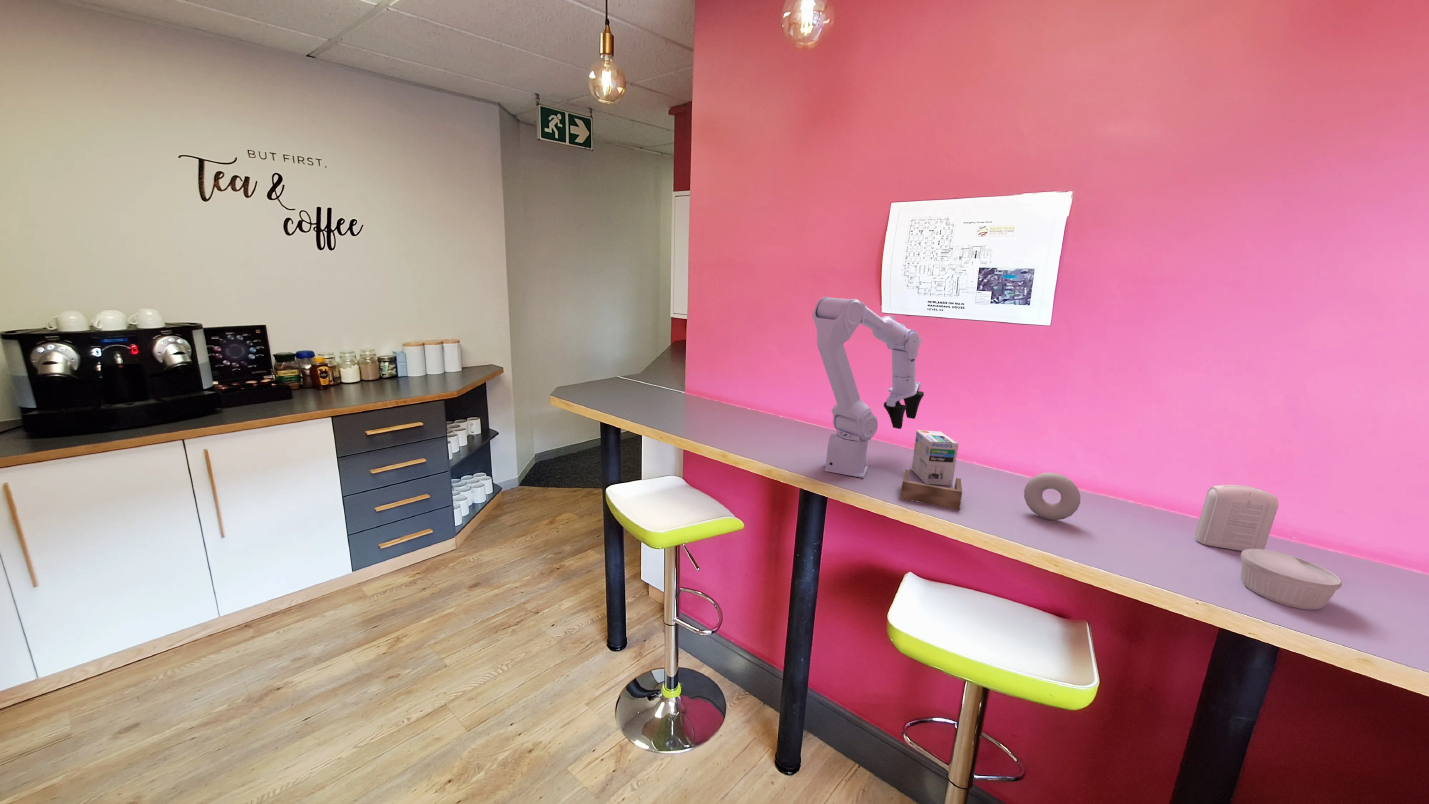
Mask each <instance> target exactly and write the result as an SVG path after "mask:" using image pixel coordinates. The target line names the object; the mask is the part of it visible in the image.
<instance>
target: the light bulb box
mask: <svg viewBox="0 0 1429 804" xmlns="http://www.w3.org/2000/svg"><path fill="white" fill-rule="evenodd" d="M915 432H916V433H915V439H914V448H913V456H912V462H911V470H910V471H912V472H914V474H915V475H916V476H917V477H918V479H920V480H921V481H922V482H923V484H928V485H934V486H938V485H939V486H940V485H941V486H953V482H954V477H955V470H956V463H957V462H956V461H957V458H958V457H957V456H958V450H959V445H960V444H959V442H957V441H955V440H954V439H952V438H951V437H949V436H948V435H947V434H945V433H944V432H942V431H940V430H939V431H937V430H935V431H933V430H922V429H916V430H915Z"/></svg>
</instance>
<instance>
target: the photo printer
mask: <svg viewBox="0 0 1429 804" xmlns="http://www.w3.org/2000/svg"><path fill="white" fill-rule="evenodd" d="M1278 508H1279V499H1278V497H1277V496H1276V495H1273V494H1272V493H1271V492H1268V491H1265V490H1263V489H1260V488H1256V487H1253V486H1247V485H1239V484H1222V485H1221V484H1220V485H1212V486H1211V487H1209V489H1208V490H1207V493H1206V496H1205V499H1204V503H1203V506H1202V509H1201V512H1200V516H1199V520H1198V523H1197V527H1196V529H1195V533H1194V534H1195V535H1194V536H1195V537H1194V539H1195V541H1196V542H1198V543H1199V544H1202V545H1205V546H1211V547H1217V548H1222V549H1228V550H1234V551H1241V552H1242V551H1244V550H1246V549H1263V550H1266V545H1267V542H1268V539H1269V536H1270V534H1271V530H1272V528H1273V524H1274V521H1275V517H1276V515H1277V511H1278Z"/></svg>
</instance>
